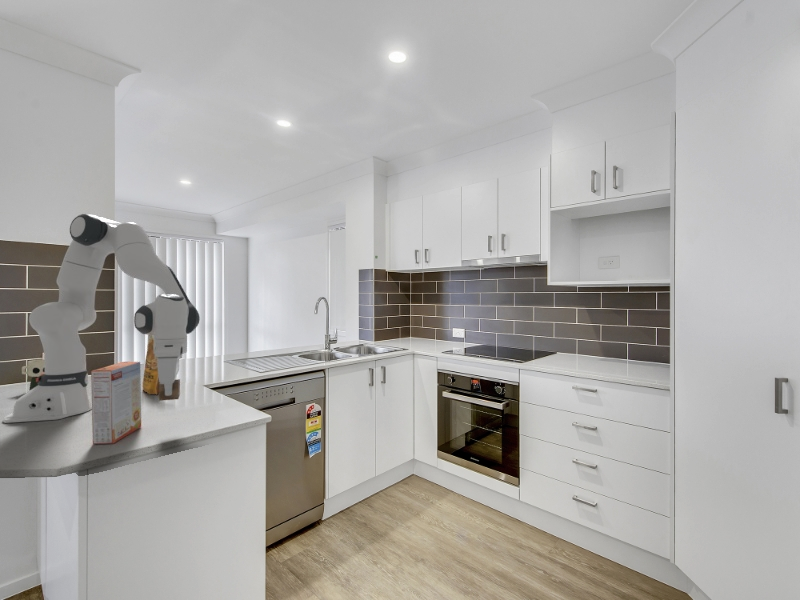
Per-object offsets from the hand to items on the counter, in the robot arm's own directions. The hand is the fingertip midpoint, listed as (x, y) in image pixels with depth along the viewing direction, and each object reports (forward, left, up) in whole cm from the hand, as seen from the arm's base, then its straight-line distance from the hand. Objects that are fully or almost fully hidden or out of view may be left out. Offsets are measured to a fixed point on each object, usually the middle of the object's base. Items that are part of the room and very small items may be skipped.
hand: (169, 392), depth 118 cm
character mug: (-54, +80, -12) cm, 98 cm away
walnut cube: (0, 0, -2) cm, 2 cm away
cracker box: (-13, +2, -12) cm, 18 cm away
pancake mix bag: (-10, +59, -12) cm, 61 cm away
